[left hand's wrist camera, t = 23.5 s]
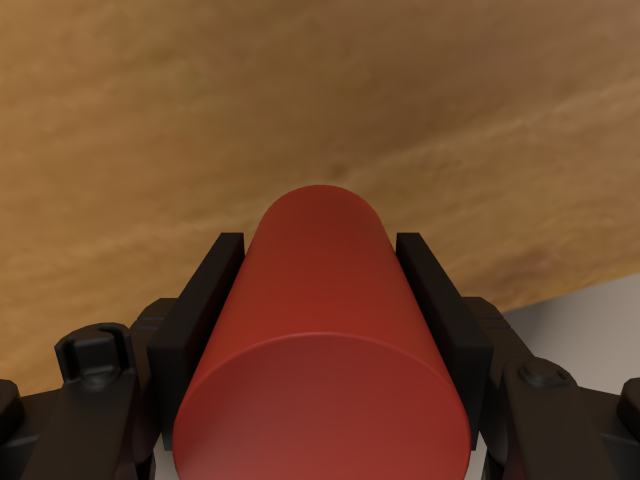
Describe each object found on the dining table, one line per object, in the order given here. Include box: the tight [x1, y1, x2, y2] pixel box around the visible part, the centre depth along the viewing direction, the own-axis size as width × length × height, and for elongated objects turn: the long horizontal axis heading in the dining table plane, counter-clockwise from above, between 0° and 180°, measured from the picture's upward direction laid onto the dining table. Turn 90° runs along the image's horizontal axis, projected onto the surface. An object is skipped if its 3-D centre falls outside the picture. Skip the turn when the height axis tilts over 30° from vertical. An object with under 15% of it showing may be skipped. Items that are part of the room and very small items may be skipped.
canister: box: [172, 185, 471, 480], centre depth 12 cm, size 5×5×10 cm
